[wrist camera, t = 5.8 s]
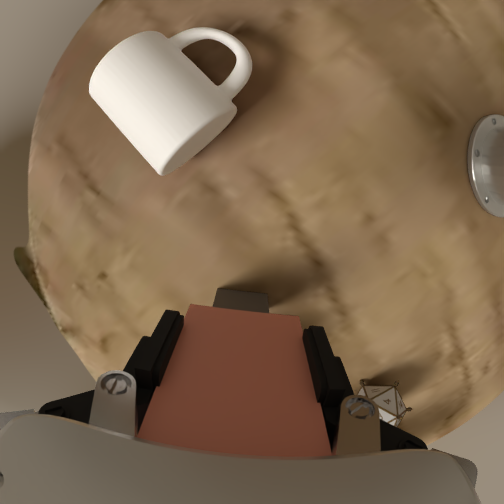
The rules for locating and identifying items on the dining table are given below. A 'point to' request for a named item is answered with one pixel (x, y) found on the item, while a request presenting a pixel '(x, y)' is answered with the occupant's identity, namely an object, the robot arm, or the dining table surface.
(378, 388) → the game die
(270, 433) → the red tile
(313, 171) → the dining table surface
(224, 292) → the black tile
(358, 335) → the dining table surface
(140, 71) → the mug
